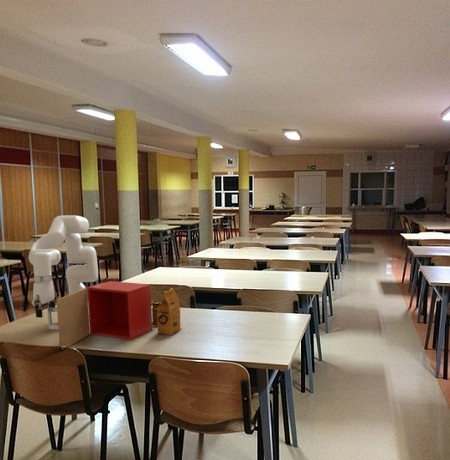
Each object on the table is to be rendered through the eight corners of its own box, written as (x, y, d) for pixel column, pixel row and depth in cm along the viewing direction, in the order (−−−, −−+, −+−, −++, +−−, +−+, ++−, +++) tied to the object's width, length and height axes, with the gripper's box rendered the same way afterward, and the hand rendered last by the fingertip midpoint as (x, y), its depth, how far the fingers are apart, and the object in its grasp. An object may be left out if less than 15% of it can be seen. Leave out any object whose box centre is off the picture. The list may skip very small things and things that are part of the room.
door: (46, 350, 227) (43, 299, 224) (76, 333, 252) (73, 287, 249) (61, 350, 225) (58, 300, 222) (89, 333, 251) (87, 288, 247)
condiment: (166, 324, 266) (165, 302, 264) (152, 327, 261) (151, 305, 259) (160, 321, 272) (159, 300, 270) (146, 324, 267) (145, 302, 265)
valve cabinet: (131, 339, 240) (129, 291, 236) (89, 333, 251) (87, 287, 248) (152, 329, 256) (150, 284, 252) (112, 324, 267) (110, 280, 264)
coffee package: (154, 333, 249) (152, 291, 246) (167, 327, 260) (165, 286, 257) (171, 335, 245) (169, 293, 242) (183, 329, 256) (182, 288, 253)
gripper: (48, 274, 234) (50, 309, 237) (23, 282, 218) (26, 319, 220) (61, 275, 232) (64, 310, 235) (38, 282, 216) (41, 320, 218)
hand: (46, 314), depth 228 cm, fingers open, 9 cm apart
